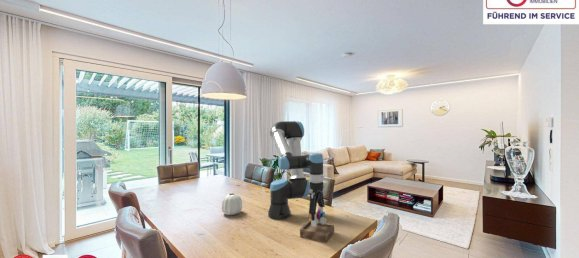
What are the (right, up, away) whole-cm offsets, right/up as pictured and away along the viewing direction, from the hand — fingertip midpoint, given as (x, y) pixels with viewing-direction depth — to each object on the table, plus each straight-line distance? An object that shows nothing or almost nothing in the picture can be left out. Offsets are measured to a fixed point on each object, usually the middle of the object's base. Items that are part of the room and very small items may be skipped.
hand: (317, 222), depth 128 cm
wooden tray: (0, -7, 0) cm, 7 cm away
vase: (-55, -8, +35) cm, 66 cm away
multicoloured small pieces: (0, -1, 0) cm, 1 cm away
